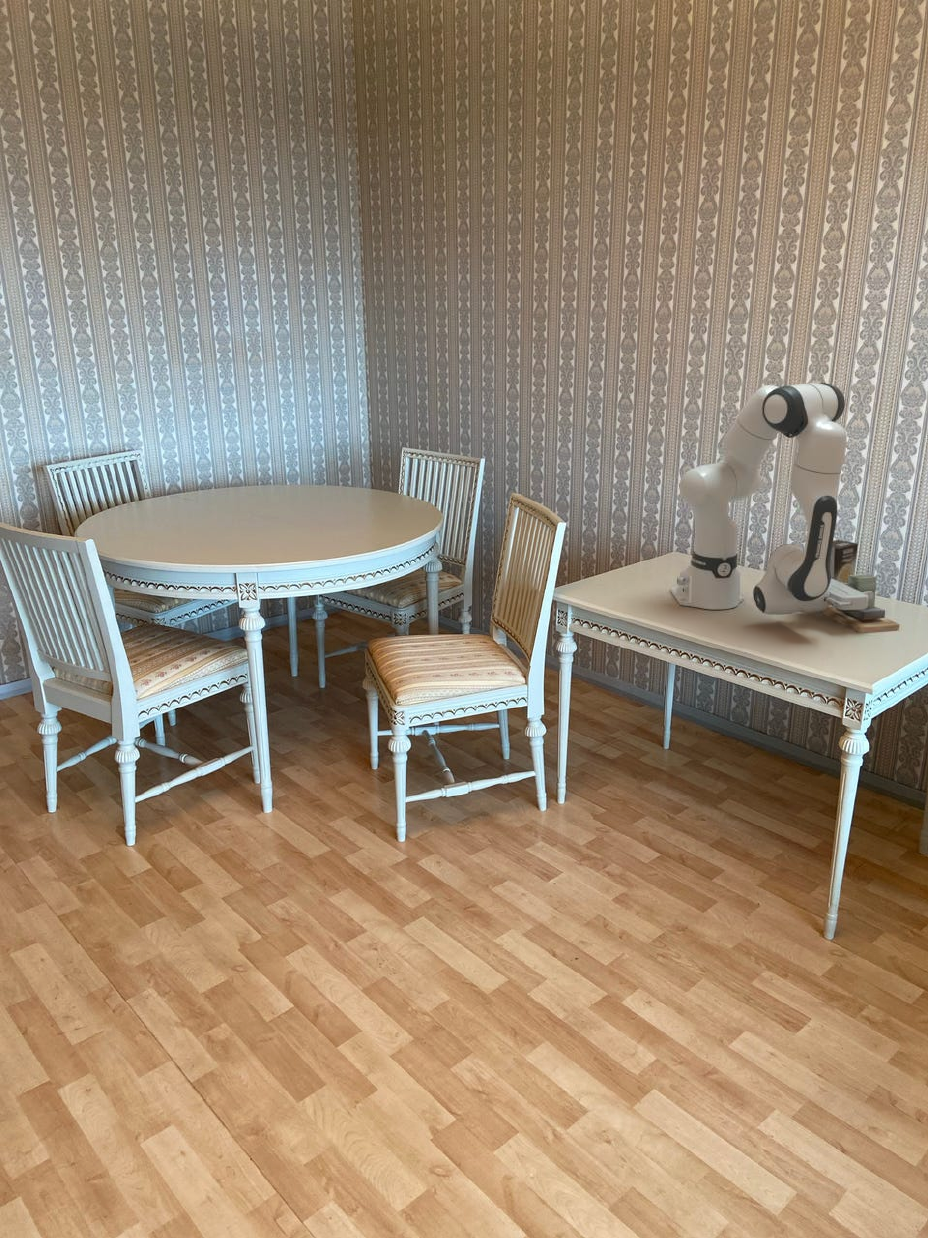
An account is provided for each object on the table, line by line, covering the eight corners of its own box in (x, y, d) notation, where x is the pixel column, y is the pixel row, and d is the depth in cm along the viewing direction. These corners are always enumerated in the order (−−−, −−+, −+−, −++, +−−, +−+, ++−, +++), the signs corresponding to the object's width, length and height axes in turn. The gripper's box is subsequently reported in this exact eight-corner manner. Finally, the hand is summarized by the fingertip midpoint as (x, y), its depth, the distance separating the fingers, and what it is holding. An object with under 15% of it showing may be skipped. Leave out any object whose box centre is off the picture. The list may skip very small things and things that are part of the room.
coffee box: (832, 604, 270) (838, 548, 265) (812, 599, 275) (818, 543, 270) (852, 598, 275) (858, 543, 270) (831, 593, 280) (838, 538, 275)
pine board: (814, 608, 267) (815, 603, 266) (851, 606, 269) (852, 600, 268) (859, 633, 247) (860, 627, 246) (898, 629, 249) (899, 624, 249)
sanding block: (836, 609, 261) (838, 572, 258) (856, 607, 262) (858, 571, 260) (864, 619, 249) (866, 581, 247) (884, 617, 251) (887, 579, 248)
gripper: (838, 593, 242) (888, 589, 244) (796, 573, 261) (843, 569, 263) (835, 618, 244) (886, 613, 246) (794, 595, 263) (841, 591, 265)
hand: (863, 590), depth 255 cm, fingers open, 5 cm apart
